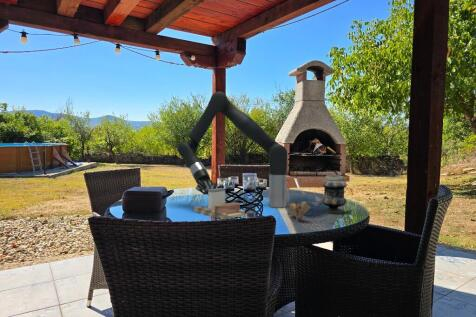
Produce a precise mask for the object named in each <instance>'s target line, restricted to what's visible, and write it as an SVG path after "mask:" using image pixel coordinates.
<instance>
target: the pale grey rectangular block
mask: <svg viewBox="0 0 476 317" xmlns="http://www.w3.org/2000/svg"><path fill="white" fill-rule="evenodd" d="M207 198H208V199H207V200H208V205H207V206H208V209H210V210H214V211H215V205H221V204H226V188H222V187H218V188H217V189H209V190H208V195H207Z"/></svg>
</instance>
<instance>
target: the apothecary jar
mask: <svg viewBox="0 0 476 317" xmlns="http://www.w3.org/2000/svg"><path fill="white" fill-rule="evenodd" d="M321 186H323V187H324V190H323V192H324V193H323V196H322V197H321V199H320V200H321V203H322V204H323V205H325V206H327V208H324V209H323V210H322V211H323V212H324V213H326V214H331V215H332V214H337V215H338V214H344V213H345V212H344V210H342V209H341V208H339V207H343V206H345V205H346V204H347V199H346V198H345V188H346V187H347V186H348V183H347V182H346V180H344V176H342V175H335V174H334V175H333V174H330V175H329V174H328V175H326V176H325V179H324V180H323V181H322V183H321Z"/></svg>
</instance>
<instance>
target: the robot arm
mask: <svg viewBox="0 0 476 317" xmlns="http://www.w3.org/2000/svg"><path fill="white" fill-rule="evenodd" d="M218 113H221V115H223V116H224V117H226V118H227V119H228V120H229V121H230V122H231V123H232V124H233V125H234V126H235V128H237V130H239V131H240V132H241V134H243V136H245V137H246V138H247V139H249V140H251V141H252V142H253V143H255V144H256V145H257V146H259V147H260V148H262V149H263V150H264V152H266V154H267V155H268V156H269V167H268V169H269V170H268V171H269V172H268V174H269V175H268V178H269V179H268V183H269V184H268V206H269V207H270V208H287V172H288V150H287V148H286V147H285V146H284V145H282V144H281V143H279V142H277V141H275V140H274V139H273V138H272V137H271V136H270V135H269V134H268V133H267V132H266V131H265V130H264V128H263V127H261V125H259V123H258V122H256V121H255V119H253V118H252V117H251V116H249V115H248V114H247V113H245V112H243V111H241V110H240V109H239V108H238V107H236V106H235V105H234V104H233V103H232V102H231V101H230V100H229V99H228V96H227V95H226V93H225V92H224V91H216V92H214V93H212V95H211V97H210V100H209V102H208V103H207V106H206V108H205V109H204V111H203V113H202V114H201V116H200V117H199V119H198V121H197V123H196V124H195V125H194V126H193V128H192V130H191V131H190V132H189V134H188V138H189V142H187V141H181V142H179V144H178V145H177V152H178V154H179V156H180V157H181V158H182V160H183V161H185V163H186V165H187V166H188V168H189V171H190V173H191V175H192V177H193V179H194V181H195V183H196V184H197V185H196V186H195V190H196V191H198V192H200V193H201V194H203V195H205V196H208V190H209V189H217V187H218V182H213V180H212V179H211V177H210V176H211V175H210V173H208V171H207V168H206V167H205V165H204V164H203V163H202V161H201V159H200V158H199V156H198V155H196V153H197V151H198V148H199V146H200V144H201V143H200V142H201V141H202V139H203V138H204V137H205V135H206V133H207V131H208V130H209V128H210V127H211V124H212V122H213V121H214V119H215V117H216V116H217V115H218Z"/></svg>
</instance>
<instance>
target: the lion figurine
mask: <svg viewBox="0 0 476 317" xmlns="http://www.w3.org/2000/svg"><path fill="white" fill-rule="evenodd" d="M289 205H290V206H289V212H287V214H286V215H287V216H289V219H292V217H295V221H296V222H299V220H300V221H302V222H303V221H304V219H303V216H304V215H305V213H307V212H308V211H309V210H310V208H311V206H310V205H308V204H307V201H301V202H298V203H295V202H293V203H291V204H289Z"/></svg>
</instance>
